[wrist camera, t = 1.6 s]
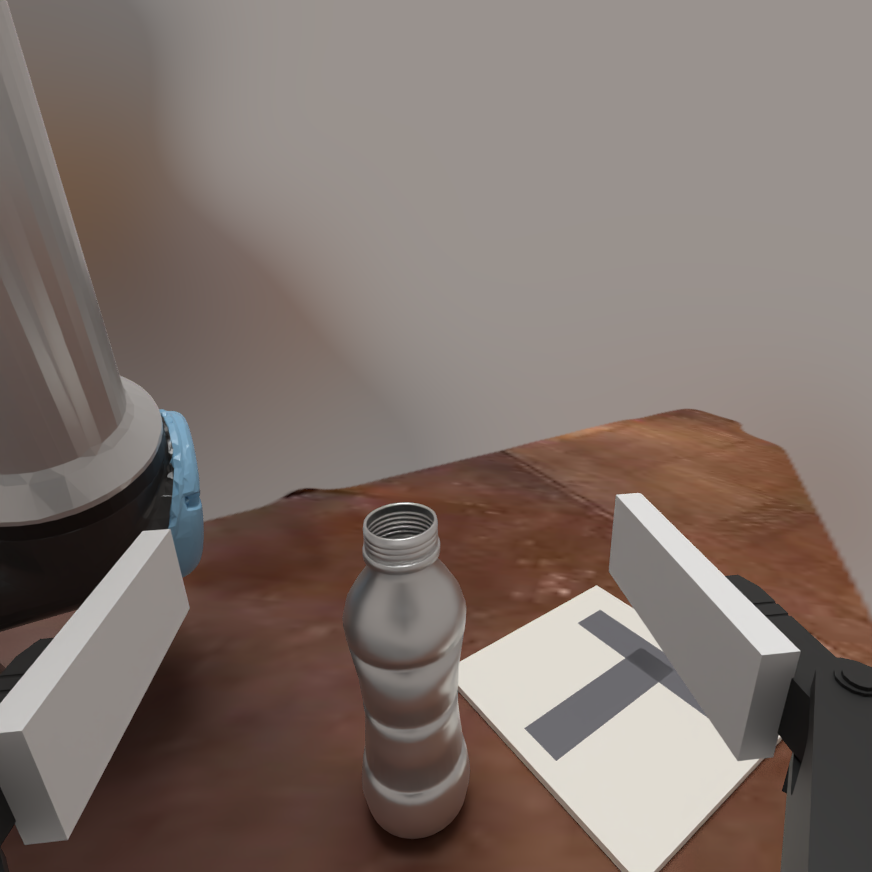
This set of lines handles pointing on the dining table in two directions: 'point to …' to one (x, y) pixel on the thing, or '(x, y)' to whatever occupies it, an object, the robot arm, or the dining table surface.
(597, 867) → the dining table surface
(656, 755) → the letter board
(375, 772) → the plastic bottle
